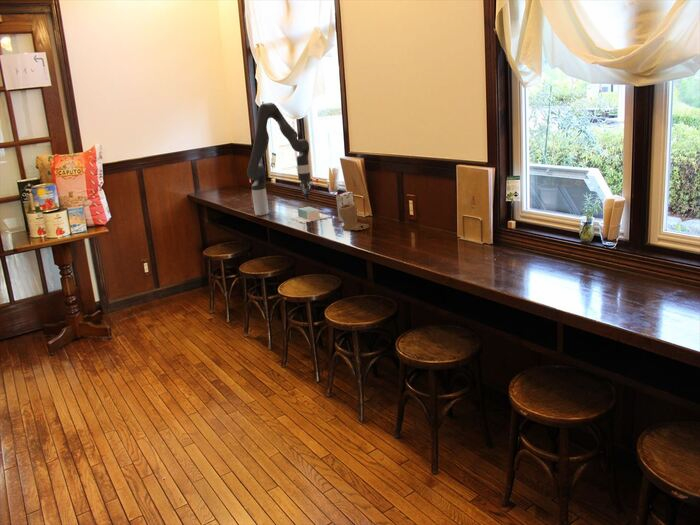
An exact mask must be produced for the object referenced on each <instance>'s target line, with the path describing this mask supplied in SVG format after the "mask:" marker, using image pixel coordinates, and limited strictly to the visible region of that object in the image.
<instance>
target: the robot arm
mask: <svg viewBox="0 0 700 525" xmlns="http://www.w3.org/2000/svg"><path fill="white" fill-rule="evenodd" d="M269 119H273V120H275V122H277V124H278V127H279V130H280V132H281V134H282V136H284V137H285V139H287V141H288V143H289V144H290V146H291V148H292V150H294V151H296V152H297V153H298V152H299V154H298V155H297V156H296V165H297V177H298V180H299V181H300V184H298V185H299V188H300V190H301V192H302V193H303V196H304V200H309V196H310V195H309V194H311V191H312V190H311V189H312V185H311V184H310V180H311V170H310V164H309V152H310V143H309V142H308V139H306V138H302V139H298V136H299V135H298V133H297V131H296V130H295V128H293V127H292V126H291V125H290V124H289V121H287V120H286V118H285V117H284V115H283V114H282V112H281V110H280V109H279V108H278V107H277V105H276V104H275V103H274V102H265V103H261V104H260V105H259V107H258V109H257V121H256V128H255V134H254V139H253V144H252V150H251V154H250V159H249V162H248V166H247V169H246V175H247V177H248V178H249V180H252V181H253V180H254V181H253V183H252V184H251V194H252V200H253V208H254V210H253V211H254V215H255V216H258V215H259V216H266V215H268V213H269V214H270V212H269V211H270V210H269V203H268V196H267V189H266V188H267V187H266V185H267V178H266V175H267V174H266V168H265V167H264V165H263V164H261V163H260V162H261V159H262V158H263V156H264V155H265V154H266V151H267V150H268V147H269V142H270V135H269V132H268V130H267V129H268V128H267V125H268V120H269ZM265 214H266V215H265Z"/></svg>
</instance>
